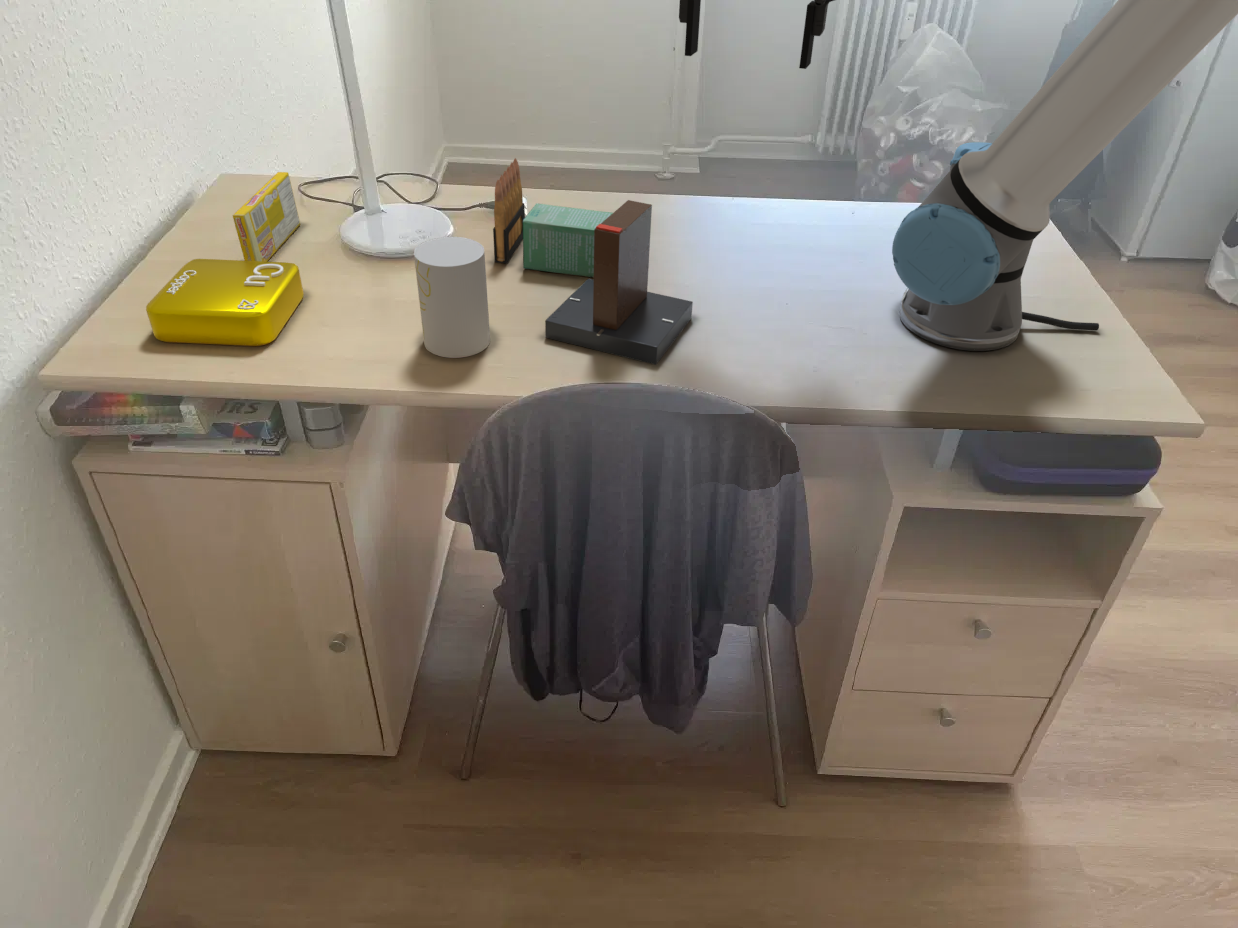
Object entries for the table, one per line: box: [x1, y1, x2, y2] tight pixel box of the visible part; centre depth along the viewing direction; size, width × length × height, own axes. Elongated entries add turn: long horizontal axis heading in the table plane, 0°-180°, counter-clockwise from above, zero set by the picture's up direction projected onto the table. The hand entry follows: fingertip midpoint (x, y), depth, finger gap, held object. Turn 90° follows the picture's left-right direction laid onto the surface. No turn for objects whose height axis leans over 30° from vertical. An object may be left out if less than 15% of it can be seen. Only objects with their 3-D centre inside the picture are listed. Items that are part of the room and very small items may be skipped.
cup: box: [413, 236, 491, 359], centre depth 111 cm, size 8×8×12 cm
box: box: [522, 202, 614, 278], centre depth 131 cm, size 7×14×8 cm, turn 79°
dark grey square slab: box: [544, 278, 694, 366], centre depth 118 cm, size 15×14×3 cm
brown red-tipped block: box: [593, 199, 653, 330], centre depth 113 cm, size 10×3×13 cm, turn 156°
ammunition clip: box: [492, 157, 526, 264], centre depth 133 cm, size 11×2×12 cm, turn 170°
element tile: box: [145, 258, 305, 347], centre depth 117 cm, size 15×15×5 cm
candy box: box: [232, 171, 301, 262], centre depth 132 cm, size 16×2×8 cm, turn 175°
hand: (747, 60), depth 107 cm, fingers open, 13 cm apart
